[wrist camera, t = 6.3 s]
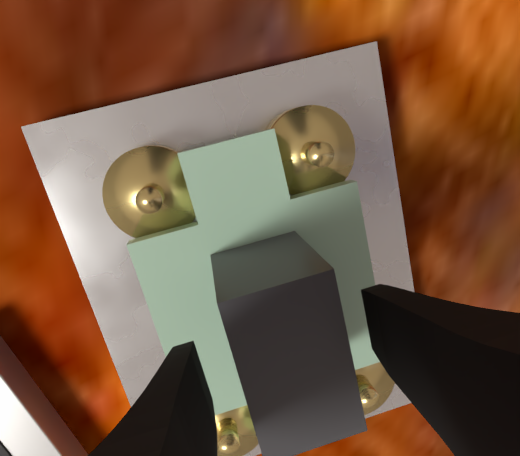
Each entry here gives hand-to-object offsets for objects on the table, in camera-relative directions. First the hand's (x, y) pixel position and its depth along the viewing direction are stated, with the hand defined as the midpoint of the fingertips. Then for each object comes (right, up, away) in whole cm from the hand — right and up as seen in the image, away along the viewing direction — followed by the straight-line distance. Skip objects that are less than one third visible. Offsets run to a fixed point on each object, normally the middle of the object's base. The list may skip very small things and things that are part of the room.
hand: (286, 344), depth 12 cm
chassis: (-1, +1, +6) cm, 6 cm away
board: (-1, +1, +3) cm, 3 cm away
